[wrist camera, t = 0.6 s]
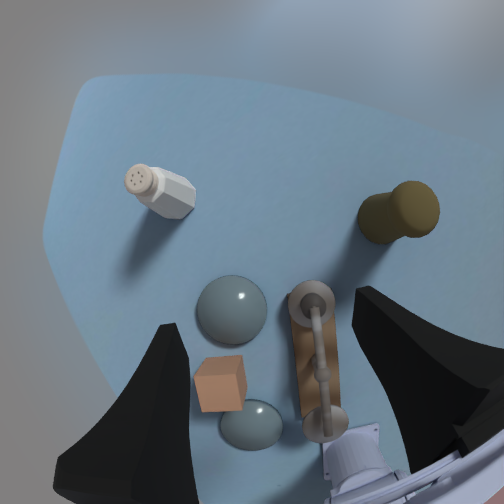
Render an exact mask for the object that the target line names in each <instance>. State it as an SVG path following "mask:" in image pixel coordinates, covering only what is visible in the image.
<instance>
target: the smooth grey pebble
mask: <svg viewBox="0 0 504 504" xmlns="http://www.w3.org/2000/svg"><path fill="white" fill-rule="evenodd" d="M282 430H283V422H282V418H281V415H280V413H279V412H278V411H277V410H276V409H275V408H274V407H273V406H272V405H270V404H268V403H266V402H264V401H260V400H254V399H247V400H245V401H244V405H243V410H241V411H225V412H224V414H223V417H222V420H221V431H222V433H223V435H224V437H225V438H226V439H227V441H229V442H230V443H231V444H232V445H234V446H236V447H238V448H241V449H244V450H262V449H265V448H268V447H270V446H272V445H273V444H275V443H276V442H277V441H278V440H279V438H280V436H281V434H282Z"/></svg>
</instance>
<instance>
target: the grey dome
mask: <svg viewBox="0 0 504 504" xmlns="http://www.w3.org/2000/svg"><path fill="white" fill-rule="evenodd" d="M197 312H198V318H199V321H200V324H201V325H202V327H203V329H204V330H205V331H206V332H207V334H208V335H210V336H211V337H212V338H214V339H215V340H217V341H219V342H222V343H226V344H241V343H244V342H247V341H249V340H251V339H252V338H254V337H255V336H256V335H257V334H258V333H259V332H260V331H261V329H262V328H263V326H264V323H265V320H266V315H267V304H266V300H265V297H264V295H263V293H262V292H261V290H260V289H259V288H258V286H257V285H256V284H254V283H253V282H252V281H250V280H248V279H246V278H244V277H241V276H234V275H230V276H223V277H220V278H218V279H216V280H214V281H212V282H211V283H209V284H208V285H207V286H206V287H205V289H204V290H203V291H202V293H201V295H200V297H199V300H198V305H197Z"/></svg>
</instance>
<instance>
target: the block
mask: <svg viewBox="0 0 504 504" xmlns="http://www.w3.org/2000/svg"><path fill="white" fill-rule="evenodd" d="M194 381H195V385H196V389H197V394H198V398H199V402H200V406H201V410H202V412H221V411H241V410H243V405H244V401H245V396H246V392H247V381H246V376H245V370H244V364H243V358H242V355H235V356H224V357H211V358H206V359H205V360H204V362H203V363H202V365H201V366H200V368H199V369H198V371H197V372H196V374H195V375H194Z"/></svg>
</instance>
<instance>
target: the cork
mask: <svg viewBox="0 0 504 504" xmlns="http://www.w3.org/2000/svg"><path fill="white" fill-rule="evenodd" d="M439 215H440V207H439V202H438V199H437V197H436V195H435V194H434V192H433V191H432V189H431V188H429V187H428V186H427V185H426V184H424V183H421V182H419V181H407V182H404V183H401V184H399V185H398V186H397V187H396V188H395V189H394V190H393V191H392V192H389V193H382V194H376V195H373V196H370V197H368V198H367V199H366V200H365V201H364V202H363V203H362V205H361V206H360V209H359V213H358V224H359V227H360V230H361V232H362V233H363V234H364V236H365V237H366V238H367V239H369V240H370V241H371V242H374V243H377V244H387V243H390V242H392V241H395V240H397V239H399V238H401V237H403V236H407V237H410V238H419V237H423V236H425V235H427V234H429V233H430V232H431V231H432V230H433V229H434V228H435V226H436V224H437V223H438V220H439Z"/></svg>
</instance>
